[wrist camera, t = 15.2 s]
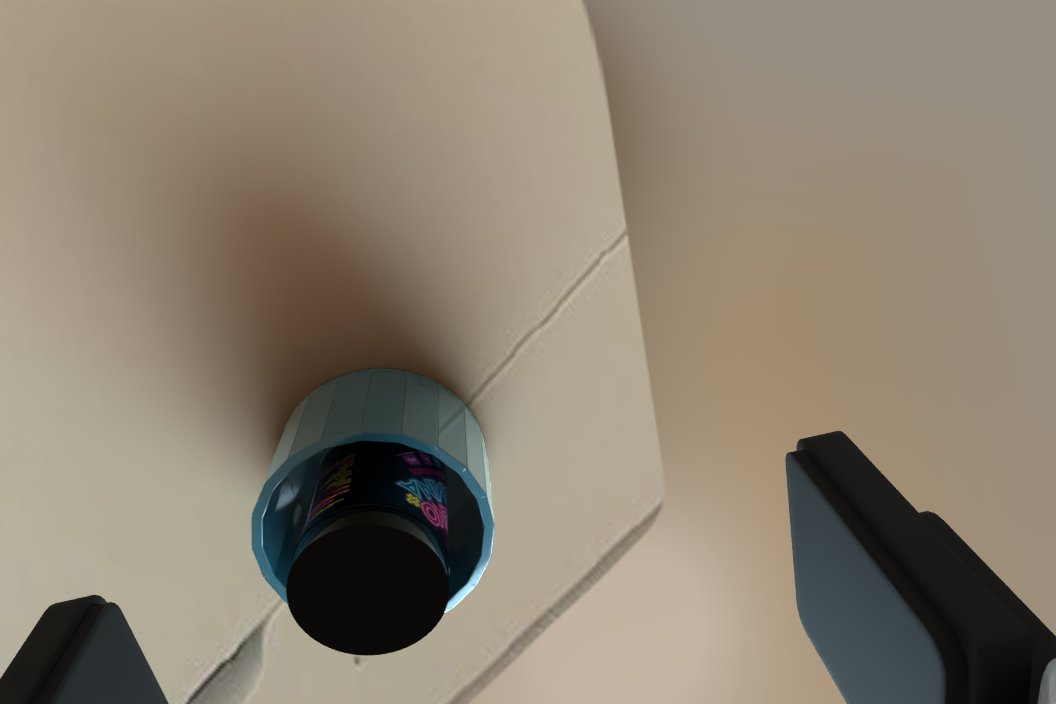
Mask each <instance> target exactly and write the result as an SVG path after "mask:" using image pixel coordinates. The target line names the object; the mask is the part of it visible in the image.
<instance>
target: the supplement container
mask: <svg viewBox="0 0 1056 704" xmlns="http://www.w3.org/2000/svg"><path fill="white" fill-rule="evenodd" d="M449 574H450V560H449V554H448V483H447V465H446V464H444V463H443V462H442V461H440V460H439V459H438V458H436V457H435V456H434V455H432V454H429V453H426V452H423V451H420V450H418V449H415V448H412V447H409V446H406V445H403V444H400V443H393V442H376V441H358V442H354V443H349V444H344V445H340V446H335V447H331V448H326V449H325V450H324V451H323V453H322V456H321V460H320V463H319V467H318V471H317V474H316V478H315V482H314V485H313V489H312V493H311V496H310V500H309V504H308V507H307V511H306V515H305V519H304V522H303V526H302V530H301V533H300V537H299V540H298V542H297V544H296V547H295V550H294V553H293V557H292V563H291V567H290V571H289V574H288V578H287V584H286V596H287V602H288V606H289V609H290V611H291V614H292V615H293V617H294V619H295V621H296V622H297V623H298V625H299V626H300V627H301V628H302V629H303V630H304V631H305V632H306V633H307V634H308V635H309V636H310V637H312V638H313V639H314V640H316V641H317V642H319V643H321V644H322V645H325V646H327V647H329V648H331V649H334V650H337V651H340V652H344V653H349V654H355V655H380V654H387V653H391V652H395V651H398V650H401V649H404V648H406V647H408V646H410V645H412V644H414V643H416V642H418V641H419V640H421V639H422V638H423V637H425V636H426V635H427V634H428V633H429V632H431V631H432V630H433V628H434V627H435V626H436V625H437V624H438V622H439V621H440V619H441V618H442V616H443V614H444V612H445V610H446V607H447V604H448V599H449Z"/></svg>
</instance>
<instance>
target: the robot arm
mask: <svg viewBox="0 0 1056 704" xmlns="http://www.w3.org/2000/svg"><path fill="white" fill-rule="evenodd" d="M786 474H787V487H788V498H789V499H788V500H789V511H790V524H791V537H792V549H793V562H794V574H795V587H796V599H797V607H798V612H799V616H800V619H801V622H802V625H803V627H804V629H805V631H806V633H807V635H808V637H809V638H810V640H811V642H812V644H813V645H814V647H815V649H816V650H817V652H818V654H819V656H820V657H821V659H822V661H823V663H824V665H825V666H826V668H827V670H828V671H829V673H830V675H831V677H832V678H833V680H834V682H835V683H836V685H837V687H838V689H839V691H840V692H841V694H842V696H843V698H844V699H845V701H846V703H847V704H1056V636H1055V635H1054V634H1053V633H1052V632H1051V631H1050V630H1049V629H1048V628H1047V627H1046V626H1045V625H1044V624H1043V623H1042V622H1041V620H1040V619H1039V618H1038V617H1037V616H1036V615H1035V614H1034V613H1033V612H1032V611H1031V610H1030V609H1029V608H1028V607H1027V606H1026V605H1025V604H1024V603H1023V602H1022V601H1021V600H1020V599H1019V598H1018V597H1017V596H1016V595H1015V594H1014V593H1013V592H1012V591H1011V589H1009V587H1008V586H1007V585H1006V584H1005V583H1004V582H1003V581H1002V580H1001V579H1000V578H999V577H998V576H997V575H996V574H995V573H994V572H993V571H992V570H991V569H990V568H989V567H988V566H987V565H986V564H985V563H984V562H983V561H982V560H981V558H979V556H977V554H976V553H975V552H974V551H973V550H972V549H971V548H970V547H969V546H968V545H967V544H966V543H965V542H964V541H963V540H962V539H961V538H960V537H959V536H958V535H957V534H956V533H955V532H954V531H953V530H952V529H951V528H950V526H949V525H948V524H947V523H946V522H945V521H944V520H943V519H941V518H940V517H939V516H938V515H936V514H935V513H932V512H929V511H925V512H921V513H918V512H917V511H916V510H915V508H914V507H913V506H912V505H911V504H910V503H909V502H908V501H907V500H906V499H905V498H904V497H903V496H902V494H901V493H900V492H899V491H898V490H897V489H896V488H895V487H894V486H893V485H892V484H891V483H890V482H889V481H888V480H887V478H886V477H885V476H884V475H883V474H882V473H881V472H880V471H879V470H878V469H877V468H876V467H875V466H874V464H872V462H870V460H869V459H868V458H867V457H866V456H865V455H864V454H863V453H862V452H861V451H860V450H859V448H858V447H857V446H856V445H855V444H854V443H853V442H852V441H851V440H850V439H849V438H848V437H847V436H846V434H844V433H843V432H841V431H835V432H831V433H826V434H822V435H818V436H813V437H808V438H804V439H800V440H799V441H798V443H797V451H794V452H789V453H787V454H786ZM0 704H168V702H167V700H166V698H165V696H164V694H163V692H162V690H161V688H160V686H159V684H158V682H157V680H156V678H155V676H154V674H153V672H152V670H151V668H150V666H149V664H148V662H147V660H146V658H145V656H144V654H143V652H142V650H141V648H140V646H139V644H138V642H137V641H136V639H135V637H134V635H133V633H132V631H131V629H130V627H129V625H128V623H127V621H126V619H125V617H124V615H123V613H122V611H121V609H120V608H119V606H118V605H116V604H115V603H112V602H109V603H107V602H106V601H105V599H103V598H102V597H101V596H98V595H91V596H87V597H82V598H78V599H73V600H69V601H64V602H60V603H55V604H53V605H51V606H49V608H48V609H47V610H46V611H45V612H44V614H43V615H42V617H41V618H40V620H39V621H38V623H37V624H36V626H35V627H34V629H33V630H32V632H31V633H30V635H29V636H28V638H27V639H26V641H25V642H24V644H23V645H22V647H21V648H20V650H19V651H18V653H17V654H16V656H15V657H14V659H13V660H12V662H11V664H10V665H9V667H8V668H7V670H6V671H5V673H4V674H3V676H2V677H1V679H0Z"/></svg>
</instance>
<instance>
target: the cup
mask: <svg viewBox="0 0 1056 704" xmlns="http://www.w3.org/2000/svg"><path fill="white" fill-rule="evenodd" d="M358 441H376V442H393V443H400V444H403V445H406V446H409V447H412V448H415V449H418V450H420V451H423V452H426V453H429V454H432V455H434V456H435V457H436V458H438V459H439V460H440V461H442V462H443V463H444V464H446V465H447V483H448V554H449V560H450V574H449V599H448V604H447V607H446V610H445V612H447V611H449V610H451V609H452V608H454V607H455V606H456V605H457V604H458V603H459V602H460V601H461V600H462V599H463V598H464V597H465V596H466V595H467V594H468V593H469V592H470V591H471V590H472V589H473V588H474V587H475V586H476V585H477V583H478V581H479V580H480V578H481V576H482V574H483V572H484V570H485V568H486V566H487V564H488V562H489V560H490V558H491V554H492V546H493V538H494V530H495V524H494V514H493V504H492V495H491V485H490V475H489V465H488V457H487V453H486V448H485V442H484V438H483V435H482V432H481V429H480V427H479V425H478V423H477V421H476V419H475V417H474V416H473V414H472V413H471V411H470V410H469V408H468V407H467V406H466V405H465V404H464V403H463V402H462V400H461V399H460V398H459V397H457V396H456V395H455V394H454V393H453V392H451V391H450V390H449V389H447V388H446V387H444V386H443V385H441V384H440V383H438V382H436V381H434V380H432V379H430V378H427V377H425V376H422V375H419V374H416V373H413V372H409V371H404V370H399V369H387V368H378V369H366V370H359V371H355V372H351V373H347V374H344V375H341V376H339V377H337V378H334V379H332V380H330V381H328V382H326V383H325V384H323V385H321V386H319V387H318V388H317V389H315V390H314V391H313V392H311V393H310V394H309V395H308V396H307V397H306V398H305V399H304V400H303V401H302V402H301V403H300V404H299V405H298V407H297V408H296V409H295V411H294V412H293V413H292V415H291V417H290V418H289V420H288V422H287V424H286V427H285V429H284V432H283V434H282V437H281V439H280V442H279V444H278V447H277V450H276V452H275V455H274V457H273V460H272V463H271V465H270V468H269V471H268V473H267V476H266V479H265V481H264V484H263V486H262V489H261V492H260V494H259V497H258V500H257V502H256V505H255V508H254V510H253V513H252V549H253V552H254V554H255V557H256V559H257V562H258V564H259V567H260V569H261V572H262V574H263V577H264V578H265V580H266V581H267V582H268V583H269V584H270V585H271V587H272V588H273V589H274V590H275V591H276V592H277V593H278V594H279V596H280V597H281V598H282V599H283V600H284V601H285V602H286V603H287V604H288V602H287V596H286V584H287V578H288V574H289V571H290V567H291V563H292V557H293V553H294V550H295V547H296V544H297V542H298V540H299V537H300V533H301V530H302V526H303V522H304V519H305V515H306V511H307V507H308V504H309V500H310V496H311V493H312V489H313V485H314V482H315V478H316V474H317V471H318V467H319V463H320V460H321V456H322V453H323V451H324V450H325V449H326V448H331V447H335V446H340V445H344V444H349V443H354V442H358ZM445 612H444V613H445Z"/></svg>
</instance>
